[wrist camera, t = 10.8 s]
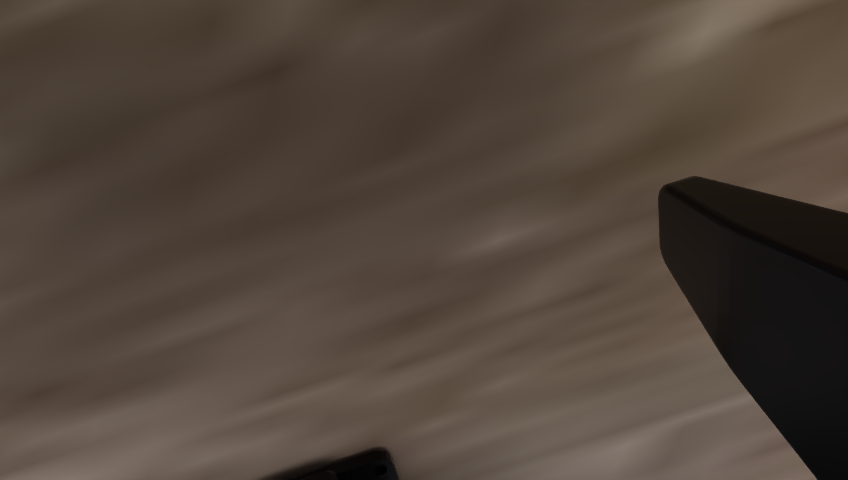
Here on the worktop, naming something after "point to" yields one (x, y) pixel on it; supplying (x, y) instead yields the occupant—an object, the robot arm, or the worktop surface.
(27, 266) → the worktop surface
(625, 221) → the worktop surface
